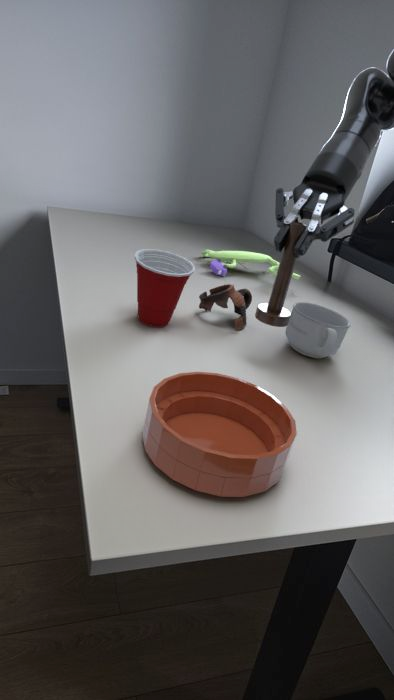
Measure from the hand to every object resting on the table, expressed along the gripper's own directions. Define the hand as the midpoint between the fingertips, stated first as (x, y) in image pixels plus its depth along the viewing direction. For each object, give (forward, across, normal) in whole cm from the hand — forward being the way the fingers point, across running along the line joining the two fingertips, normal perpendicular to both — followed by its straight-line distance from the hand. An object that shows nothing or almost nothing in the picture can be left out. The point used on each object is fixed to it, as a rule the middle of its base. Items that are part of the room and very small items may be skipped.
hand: (286, 251), depth 75 cm
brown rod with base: (+7, 0, +10) cm, 12 cm away
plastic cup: (+15, -21, +14) cm, 29 cm away
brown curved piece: (+5, -13, +24) cm, 28 cm away
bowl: (+32, +7, -4) cm, 33 cm away
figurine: (-20, -25, +48) cm, 58 cm away
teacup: (+4, +5, +24) cm, 25 cm away
